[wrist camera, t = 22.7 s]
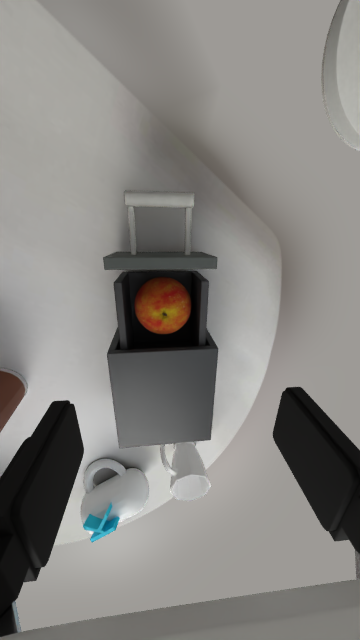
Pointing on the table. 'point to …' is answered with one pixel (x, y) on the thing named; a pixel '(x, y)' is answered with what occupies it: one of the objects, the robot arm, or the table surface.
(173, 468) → the cup
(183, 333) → the grey drawer
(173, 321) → the fruit
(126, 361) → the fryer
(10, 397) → the coffee cup
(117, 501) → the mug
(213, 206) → the table surface
